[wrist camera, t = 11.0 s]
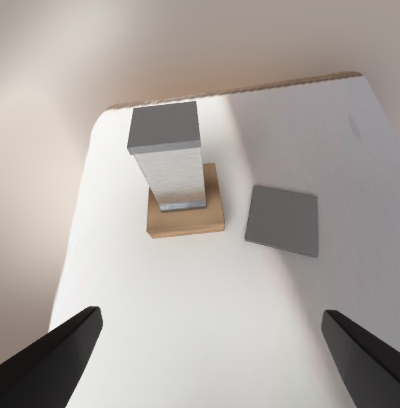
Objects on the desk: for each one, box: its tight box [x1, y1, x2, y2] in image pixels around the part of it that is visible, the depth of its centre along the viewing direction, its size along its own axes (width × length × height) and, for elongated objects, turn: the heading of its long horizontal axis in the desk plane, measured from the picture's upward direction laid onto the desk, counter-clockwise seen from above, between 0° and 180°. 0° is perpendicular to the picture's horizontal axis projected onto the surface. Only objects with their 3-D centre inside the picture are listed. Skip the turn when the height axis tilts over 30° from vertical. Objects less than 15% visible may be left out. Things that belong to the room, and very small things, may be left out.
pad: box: [245, 186, 318, 257], centre depth 24 cm, size 8×8×1 cm
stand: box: [147, 163, 225, 238], centre depth 25 cm, size 9×9×2 cm
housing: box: [127, 101, 206, 213], centre depth 20 cm, size 5×5×10 cm
